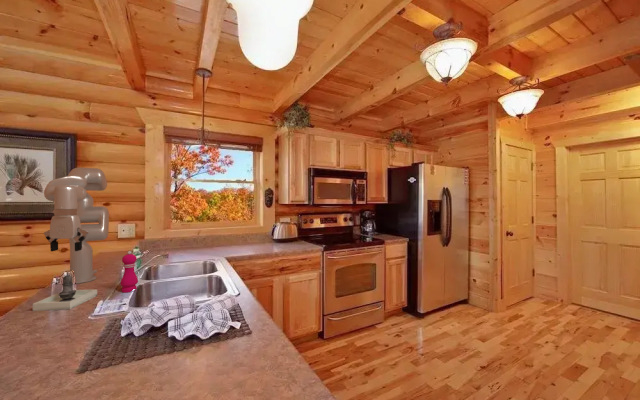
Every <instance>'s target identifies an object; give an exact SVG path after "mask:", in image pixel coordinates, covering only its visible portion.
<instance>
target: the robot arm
mask: <svg viewBox="0 0 640 400" xmlns="http://www.w3.org/2000/svg"><path fill="white" fill-rule="evenodd" d="M107 187H108V180H107V178H106V175H105V172H104V171H103V170H102V169H101V168H95V167H75V168H73V169H71V170H70V172H69V173H68V175H65V176H63V177H58V178H55V179H52V180H50V181H49V182H48V183H47V184H46V186H45V188H44V191H43V195H44V198H45V199H46V200H47V201H50V202H54V209H53V210H52V212H51V213H52V214H54V215H53V216H52V217H51V220H50V225H49V230H46V231H45V232H43V235H44V236H45V239H46V240H47V241H48V243H49V244H50V252H56V251H58V250H59V239H60V240H61V239H62V240H64V239H66V240H67V239H68V243H69V272H70V271H72V270H73V271H74V274H75V279H76V284H83V283H88V282H93V281H94V280H96V279H97V276H96V275H94V274H96V273H97V272H98V269H95V268H94V269H93V267H94V265H93V262H94V261H93V260H94V259H93V252H94V251H93V247H92V245H91V244H89V242H92V241H93V242H94V241H95V242H96V241H105V240H106V239H108V237H109V230H110V229H109V225H110V213H109V209H108V208H107V207H106V206H102V205H101V206H99V205H96V206H94V201H95V200H94V198H93V196H91V194H89V193H88V192H87V191H95V192H99V191H102V192H103V191H105V190H106V189H107ZM76 284H75V285H76Z"/></svg>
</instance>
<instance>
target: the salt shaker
mask: <svg viewBox="0 0 640 400" xmlns="http://www.w3.org/2000/svg"><path fill="white" fill-rule="evenodd" d="M61 285H62V291H60V292H58V293H59V294H58V295H59V296H60V298H62V300H60V301H59V302H68V301H72V300H74V299H75V298H73V296H74V295H75V292H76V290H77V289H73V283H72V276H70V274H69V273H66V275H64V276H63V278H62V284H61Z"/></svg>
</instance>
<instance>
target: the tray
mask: <svg viewBox="0 0 640 400" xmlns="http://www.w3.org/2000/svg"><path fill="white" fill-rule="evenodd" d="M75 290H76V292H75V295H74V296H73V298H75V299H74V300H72V301H68V302H59V301H60V300H62V298H59V295H58V294H59V293H60V292H58V294H57V293H55V294H53V295H50V296H48V297H45V298H43V299H41V300H38V301H36V302H33V303H32V312H37V311H38V312H39V311H61V310H65V311H67V310H72V309H74V308H76V307H77V306H79V305H81V304H83V303H86V302H87V301H89V300H92V299H94V298H95V297H97V296H98V289H75Z"/></svg>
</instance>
